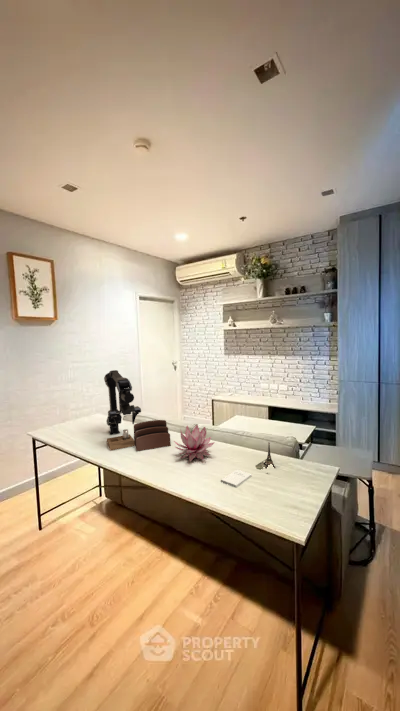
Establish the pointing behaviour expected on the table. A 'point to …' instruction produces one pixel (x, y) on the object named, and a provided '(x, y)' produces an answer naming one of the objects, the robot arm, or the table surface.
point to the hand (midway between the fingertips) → (125, 425)
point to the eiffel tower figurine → (267, 461)
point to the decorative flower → (195, 443)
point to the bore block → (120, 442)
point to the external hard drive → (236, 478)
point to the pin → (125, 434)
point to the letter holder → (151, 435)
